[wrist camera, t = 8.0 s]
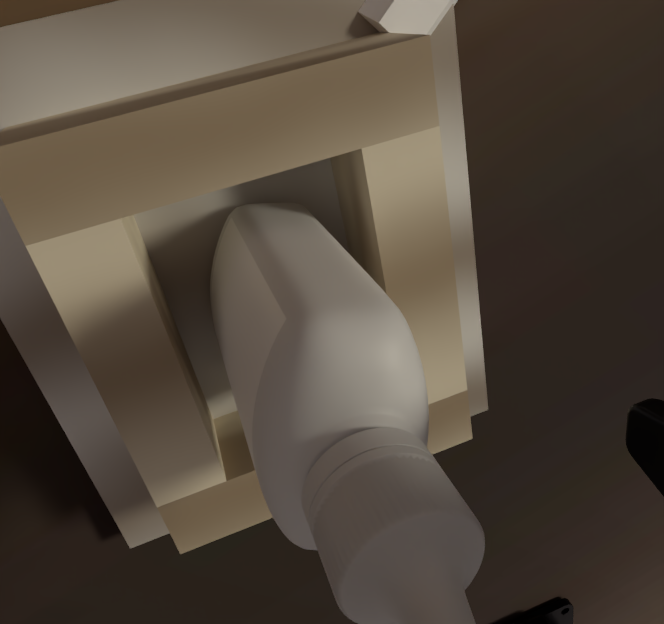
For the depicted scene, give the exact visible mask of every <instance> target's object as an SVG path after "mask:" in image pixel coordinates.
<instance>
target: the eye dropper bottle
mask: <svg viewBox="0 0 664 624" xmlns="http://www.w3.org/2000/svg"><path fill="white" fill-rule="evenodd" d="M210 303H211V313H212V319H213V324H214V329H215V333H216V337H217V340H218V344H219V347H220V351H221V354H222V358H223V361H224V365H225V368H226V372H227V375H228V378H229V382H230V385H231V389H232V392H233V396H234V399H235V403H236V406H237V410H238V413H239V417H240V420H241V424H242V427H243V430H244V434H245V437H246V441H247V444H248V448H249V451H250V455H251V458H252V461H253V465H254V468H255V471H256V475H257V478H258V481H259V485H260V488H261V490H262V493H263V496H264V499H265V501H266V504H267V506H268V508H269V511H270V512H271V514H272V516H273V518H274V520H275V522H276V523H277V525H278V526H279V528H280V529H281V531H282V532H283V533H284V534H285V536H286V537H287V538H288V539H289V540H290V541H291V542H292V543H294V544H296V545H298V546H299V547H301V548H303V549H308V550H318V553H319V555H320V558H321V561H322V564H323V566H324V569H325V572H326V575H327V577H328V580H329V583H330V586H331V589H332V591H333V594H334V597H335V600H336V602H337V605H338V606H339V608H340V610H341V611H342V612H343V614H344V615H346V616H347V617H348V618H349V619H351V620H352V621H353V622H356V623H358V624H476V623H475V620H474V618H473V615H472V612H471V609H470V606H469V604H468V601H467V598H466V595H465V591H464V590H465V589H466V588H467V587H468V586H469V584H470V583H471V581H472V580H473V578H474V577H475V575H476V573H477V572H478V569H479V567H480V565H481V562H482V559H483V555H484V549H485V538H484V533H483V528H482V527H481V524H480V523H479V521H478V520H477V518H476V517H475V515H474V514H473V513H472V511H471V510H470V508H469V507H468V505H467V504H466V503H465V501H464V500H463V498H462V497H461V496H460V494H459V493H458V491H457V490H456V488H455V487H454V486H453V484H452V483H451V481H450V480H449V478H448V477H447V476H446V474H445V473H444V471H443V470H442V468H441V467H440V466H439V464H438V463H437V461H436V460H435V458H434V457H433V456H432V454H431V453H430V451H429V450H428V449H427V442H428V431H429V409H428V395H427V388H426V380H425V376H424V371H423V367H422V363H421V359H420V355H419V352H418V348H417V346H416V343H415V340H414V338H413V335H412V332H411V330H410V328H409V326H408V323H407V321H406V319H405V317H404V316H403V314H402V313H401V311H400V309H399V308H398V307H397V306H396V305H395V303H394V302H393V301H392V300H391V299H390V298H389V297H388V295H387V294H386V293H385V292H384V291H383V290H382V289H381V287H380V286H379V285H378V284H377V283H376V282H375V281H374V280H373V279H372V278H371V277H370V276H369V274H368V273H367V272H366V271H365V270H364V269H363V268H362V267H361V266H360V265H359V264H358V263H357V262H356V261H355V260H354V258H353V257H352V256H351V255H350V254H349V253H348V252H347V251H346V250H345V249H344V248H343V247H342V246H341V245H340V244H339V242H338V241H337V240H336V239H335V238H334V237H333V236H332V235H331V234H330V233H329V232H328V231H327V230H326V229H325V228H324V227H323V226H322V225H321V224H320V223H319V221H318V220H317V219H316V218H315V217H314V216H313V215H312V214H311V213H310V212H309V211H308V210H307V209H306V208H305V207H304V206H303V205H300V204H296V203H255V204H245V205H242V206H239V207H236V208H235V209H234V210H233V211H232V212H231V214H230V215H229V216H228V218H227V220H226V222H225V224H224V226H223V229H222V231H221V234H220V237H219V240H218V243H217V246H216V250H215V254H214V258H213V264H212V270H211V279H210Z"/></svg>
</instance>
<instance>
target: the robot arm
mask: <svg viewBox="0 0 664 624" xmlns="http://www.w3.org/2000/svg"><path fill="white" fill-rule="evenodd" d="M626 445H627V448H628V451H629V453H630V454H631V456H632V457H633V459H634V460H635V461H636V462H637V464H638V465H639V466H640V467H641V469H642V470H643V471H644V472H645V474H646V475H647V476H648V477H649V479H650V480H651V481H652V482H653V484H654V485H655V486H656V487H657V489H658V490H659V491H660V492H661V494H662V495H663V496H664V401H662V400H659V399H653V398H652V399H647V400H644V401H642V402H639V403H637V404H634V405H632V406H631V407H630V408H629V410H628V415H627V429H626ZM508 624H573V606H572V604H571V603H570V602H569V600H568V599H566V598H563V599H560V600H558V601H556V602H554V603H552V604H549V605H547V606H545V607H543V608H541V609H539V610H536V611H534V612H532V613H530V614H528V615H526V616H523V617H521V618H519V619H517V620H515V621H513V622H510V623H508Z"/></svg>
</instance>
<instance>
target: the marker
mask: <svg viewBox="0 0 664 624" xmlns="http://www.w3.org/2000/svg"><path fill="white" fill-rule="evenodd" d="M457 1H458V0H366V1H365V2H364V4H363V5H362V7H361V8H360V10H359V11H358V12H359V13H360V14H361V15H362V16H363V17H364V18H365V19H366V20H367V21H368V22H369V23H370V24H371V25H372V26H373V27H374V28H376V29H377V30H378V31H379V32H384V33H404V34H424V35H430V36H431V34H432V33H433V31H434V30H435V28H436V27H437V26H438V24H439V23H440V21H441V20H442V19H443V17H444V16H445V14H446V13H447V11H448V10H449V9H450V7H451V6H452V4H454V5H455V4H456V2H457Z"/></svg>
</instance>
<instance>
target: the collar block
mask: <svg viewBox="0 0 664 624" xmlns="http://www.w3.org/2000/svg"><path fill="white" fill-rule="evenodd" d="M365 1H366V0H119V1H115V2H111V3H106V4H102V5H97V6H93V7H89V8H84V9H80V10H75V11H71V12H66V13H62V14H58V15H53V16H49V17H44V18H40V19H35V20H31V21H27V22H22V23H18V24H13V25H9V26H4V27H0V319H1V320H2V322H3V324H4V326H5V327H6V329H7V331H8V333H9V335H10V336H11V338H12V340H13V342H14V343H15V345H16V347H17V349H18V350H19V352H20V354H21V356H22V358H23V359H24V361H25V363H26V365H27V366H28V368H29V370H30V372H31V373H32V375H33V377H34V379H35V381H36V382H37V384H38V386H39V388H40V389H41V391H42V393H43V395H44V396H45V398H46V400H47V402H48V404H49V405H50V407H51V409H52V411H53V412H54V414H55V416H56V418H57V420H58V421H59V423H60V425H61V427H62V428H63V430H64V432H65V434H66V435H67V437H68V439H69V441H70V443H71V444H72V446H73V448H74V450H75V451H76V453H77V455H78V457H79V458H80V460H81V462H82V464H83V466H84V467H85V469H86V471H87V473H88V474H89V476H90V478H91V480H92V482H93V483H94V485H95V487H96V489H97V490H98V492H99V494H100V496H101V497H102V499H103V501H104V503H105V505H106V506H107V508H108V510H109V512H110V513H111V515H112V517H113V519H114V520H115V522H116V524H117V526H118V528H119V529H120V531H121V533H122V535H123V536H124V538H125V540H126V542H127V543H128V545H129V547H130V548H133V547H135V546H138V545H140V544H143V543H145V542H148V541H151V540H153V539H156V538H158V537H161V536H164V535H166V534H169V533H170V534H171V536H172V538H173V540H174V542H175V544H176V546H177V548H178V550H179V552H180V554H182V553H184V552H187V551H190V550H192V549H195V548H197V547H200V546H202V545H205V544H207V543H210V542H212V541H215V540H217V539H220V538H222V537H225V536H227V535H230V534H233V533H235V532H238V531H240V530H243V529H245V528H248V527H250V526H253V525H255V524H258V523H260V522H263V521H265V520H268V519H270V518H273V516H272V514H271V512H270V511H269V508H268V506H267V504H266V501H265V499H264V496H263V493H262V490H261V488H260V485H259V481H258V478H257V475H256V471H255V468H254V465H253V461H252V458H251V455H250V451H249V448H248V444H247V441H246V437H245V434H244V430H243V427H242V424H241V420H240V417H239V413H238V410H237V406H236V403H235V399H234V396H233V392H232V389H231V385H230V382H229V378H228V375H227V372H226V368H225V365H224V361H223V358H222V354H221V351H220V347H219V344H218V340H217V337H216V333H215V329H214V324H213V319H212V313H211V303H210V279H211V270H212V264H213V258H214V254H215V250H216V246H217V243H218V240H219V237H220V234H221V231H222V229H223V226H224V224H225V222H226V220H227V218H228V216H229V215H230V214H231V212H232V211H233V210H234V209H235V208H236V207H239V206H242V205H245V204H255V203H296V204H300V205H303V206H304V207H305V208H306V209H307V210H308V211H309V212H310V213H311V214H312V215H313V216H314V217H315V218H316V219H317V220H318V221H319V223H320V224H321V225H322V226H323V227H324V228H325V229H326V230H327V231H328V232H329V233H330V234H331V235H332V236H333V237H334V238H335V239H336V240H337V241H338V242H339V244H340V245H341V246H342V247H343V248H344V249H345V250H346V251H347V252H348V253H349V254H350V255H351V256H352V257H353V258H354V260H355V261H356V262H357V263H358V264H359V265H360V266H361V267H362V268H363V269H364V270H365V271H366V272H367V273H368V274H369V276H370V277H371V278H372V279H373V280H374V281H375V282H376V283H377V284H378V285H379V286H380V287H381V289H382V290H383V291H384V292H385V293H386V294H387V295H388V297H389V298H390V299H391V300H392V301H393V302H394V303H395V305H396V306H397V307H398V308H399V309H400V311H401V313H402V314H403V316H404V317H405V319H406V321H407V323H408V326H409V328H410V330H411V332H412V335H413V338H414V340H415V343H416V346H417V348H418V352H419V355H420V359H421V363H422V367H423V371H424V376H425V380H426V388H427V395H428V409H429V431H428V442H427V449H428V450H429V451H430V453H431V454H435V453H437V452H440V451H442V450H445V449H447V448H450V447H452V446H455V445H458V444H460V443H463V442H465V441H468V440H470V439H473V438H472V429H471V419H470V416H473V415H475V414H478V413H481V412H483V411H486V410H488V403H487V391H486V379H485V368H484V356H483V344H482V332H481V321H480V309H479V297H478V286H477V274H476V262H475V250H474V239H473V227H472V215H471V203H470V192H469V180H468V168H467V157H466V145H465V133H464V121H463V110H462V98H461V86H460V74H459V63H458V51H457V39H456V28H455V16H454V4H452V6H451V7H450V9H449V10H448V11H447V13H446V14H445V16H444V17H443V19H442V20H441V21H440V23H439V24H438V26H437V27H436V28H435V30H434V31H433V33H432V34H431V36H430V35H424V34H404V33H384V32H379V31H378V30H377V29H376V28H374V27H373V26H372V25H371V24H370V23H369V22H368V21H367V20H366V19H365V18H364V17H363V16H362V15H361V14H360V13H359V12H358V11H359V10H360V8H361V7H362V5H363V4H364V2H365Z"/></svg>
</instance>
